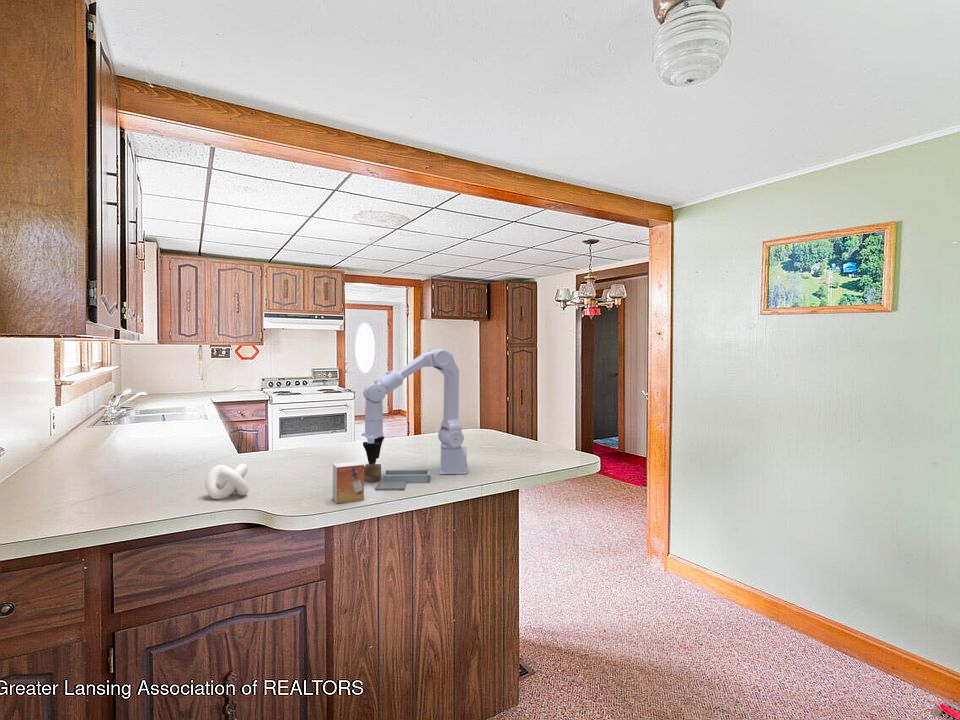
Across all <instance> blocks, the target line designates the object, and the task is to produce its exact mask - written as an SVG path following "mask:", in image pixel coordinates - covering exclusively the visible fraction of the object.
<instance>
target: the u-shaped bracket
mask: <svg viewBox="0 0 960 720" xmlns="http://www.w3.org/2000/svg"><path fill="white" fill-rule="evenodd" d="M382 477H383V478H382V479H383V480H382V481H407V483H406V484H422V483H423V484H425V483H426V484H427V483H428V484H429V483H430V482H431V469H386V470H385V474H383V476H382Z"/></svg>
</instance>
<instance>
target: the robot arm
mask: <svg viewBox="0 0 960 720" xmlns="http://www.w3.org/2000/svg"><path fill="white" fill-rule="evenodd" d="M427 367H428V368H430V367H431V368H434V369H437V370H438V371H439V372H440V374H442V375H443V377H444V378H443V420H442V421H441V422H440V428H439V431H438V436H437V438H438V440H439V442H441V443H440V467H439V471H438V474H439V475H467V468H468V461H467V460H468V459H467V456H468V455H467V452H468V451H467V446H462V444H463V443H464V440H465V437H464V434H463V430H462V425H461V423H460V421H459V407H460V406H459V403H460V402H459V397H460V396H459V395H460V391H459V390H460V369H459V367H458V365H457V363H456V361H455V359H454V355H453V353H451V352H450V351H449V350H447V349H445V348H430V349H428V351H424V352H422V353H421V354H420V355H419V356H417V357H416V358H414V359H412V361H409V363H407V364H406V365H404V366H403V367H401V368H400V369H399V370H394V369H393V370H387V371H386V372H385V375H383V376H381V377H380V378H379V379H374V380H373V381H374V383H370V384H367V385H366V386H365V388H364V389H363V392H362V394H363V397H364V399H365V401H364V402H365V407H364V432H362V433H361V437H365V438H366V440H367V441H363V442H362V446H363V448H364V450H365V452H366V457H367V464H377V463H376V462H377V459H379V458H380V456H381V455H380V454H381V449H382V445H383V443H384V440H385V436H384V431H383V430H384V429H383V428H384V427H383V426H384V409H383V407H384V405H383V400H384V399H385V396H386V395H388V394H389V393H391V392H393V391H394V390H396V389H397V388H398V387H400V386H402V384H403V382H404V380H405V379H406V378H408V377H409V376H411V375H412V374H414V373H416V372H417V371H419V370H421V369H422V368H427Z"/></svg>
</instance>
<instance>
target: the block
mask: <svg viewBox="0 0 960 720" xmlns="http://www.w3.org/2000/svg"><path fill="white" fill-rule="evenodd" d="M379 481H382V463H375V464H369V463H366V464H365V465H364V483H378V482H379Z"/></svg>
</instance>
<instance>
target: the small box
mask: <svg viewBox="0 0 960 720" xmlns="http://www.w3.org/2000/svg"><path fill="white" fill-rule="evenodd" d="M364 466H365V465H364V463H363V462H362V461H360V460H356V461H347V462H334V463H332V500H333V501H334V503H336V504H342V503H350V502H360V501H365V482H364Z"/></svg>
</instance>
